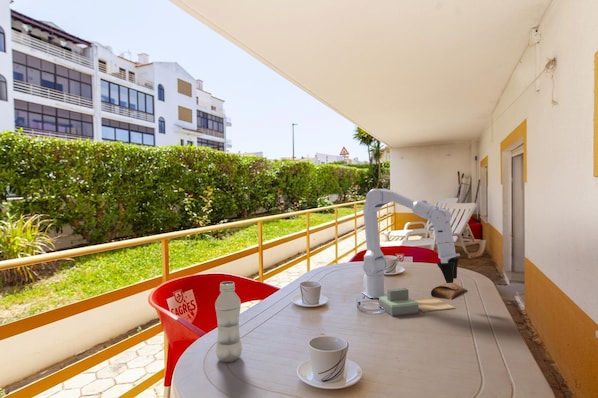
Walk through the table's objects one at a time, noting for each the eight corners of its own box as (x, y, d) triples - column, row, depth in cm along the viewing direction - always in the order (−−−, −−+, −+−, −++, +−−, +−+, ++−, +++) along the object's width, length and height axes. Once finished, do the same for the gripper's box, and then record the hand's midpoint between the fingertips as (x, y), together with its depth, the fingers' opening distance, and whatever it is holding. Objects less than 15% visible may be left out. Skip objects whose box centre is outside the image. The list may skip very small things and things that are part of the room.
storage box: (379, 307, 130) (378, 299, 130) (403, 304, 132) (403, 296, 132) (392, 316, 120) (391, 307, 120) (418, 313, 123) (418, 304, 123)
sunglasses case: (452, 300, 136) (443, 283, 138) (437, 306, 140) (428, 290, 142) (468, 290, 149) (459, 275, 151) (454, 296, 153) (445, 281, 155)
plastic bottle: (218, 354, 95) (215, 280, 95) (243, 353, 95) (241, 279, 95) (214, 366, 88) (211, 287, 88) (241, 364, 89) (239, 285, 89)
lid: (379, 301, 130) (378, 287, 130) (403, 298, 132) (403, 285, 132) (391, 309, 120) (391, 294, 120) (418, 306, 123) (417, 292, 123)
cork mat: (403, 301, 136) (403, 300, 136) (433, 298, 139) (433, 297, 139) (422, 312, 124) (422, 311, 124) (455, 308, 126) (455, 307, 126)
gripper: (453, 243, 118) (461, 284, 117) (460, 239, 130) (466, 276, 129) (431, 245, 121) (438, 285, 120) (440, 241, 134) (446, 277, 133)
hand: (451, 280), depth 125 cm, fingers open, 7 cm apart
